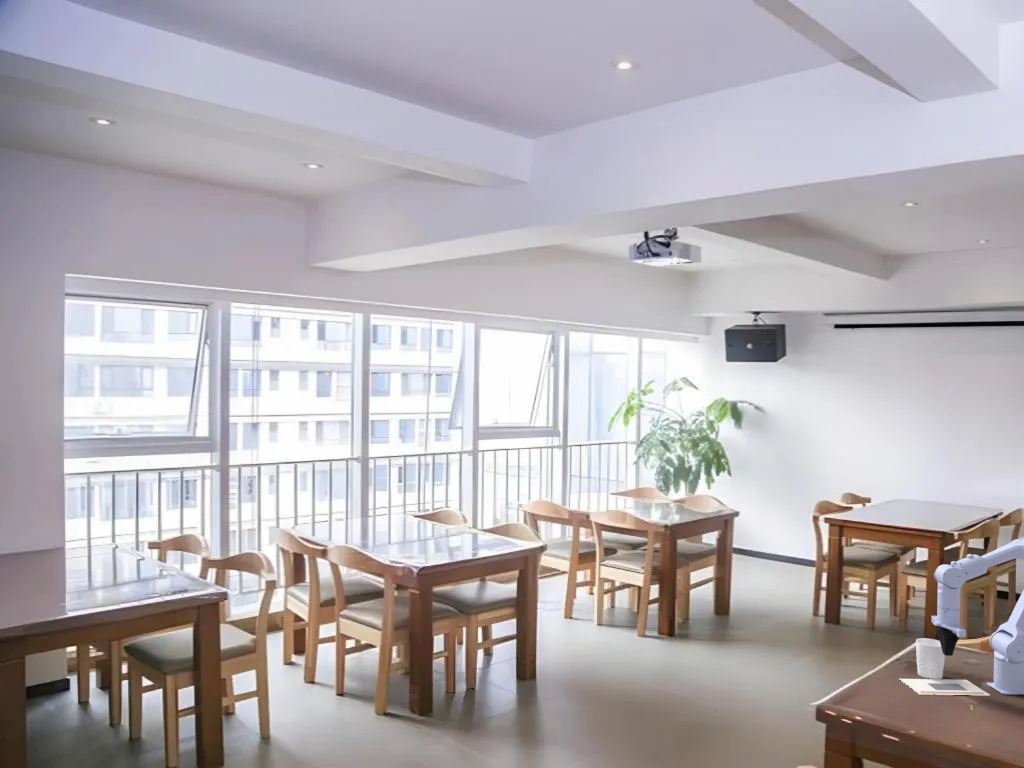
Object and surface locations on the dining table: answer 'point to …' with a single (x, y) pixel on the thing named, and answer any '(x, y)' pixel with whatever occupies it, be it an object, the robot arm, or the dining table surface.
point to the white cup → (929, 658)
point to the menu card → (944, 687)
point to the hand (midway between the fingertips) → (947, 654)
